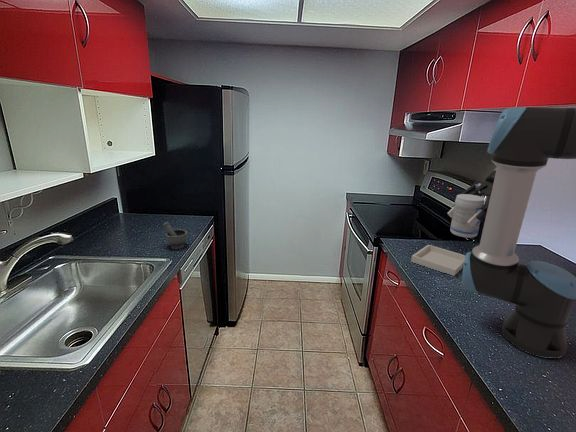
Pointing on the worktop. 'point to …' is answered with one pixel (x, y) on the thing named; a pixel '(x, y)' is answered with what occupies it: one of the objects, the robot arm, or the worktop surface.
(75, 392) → the worktop surface
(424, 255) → the tray
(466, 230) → the supplement tub
